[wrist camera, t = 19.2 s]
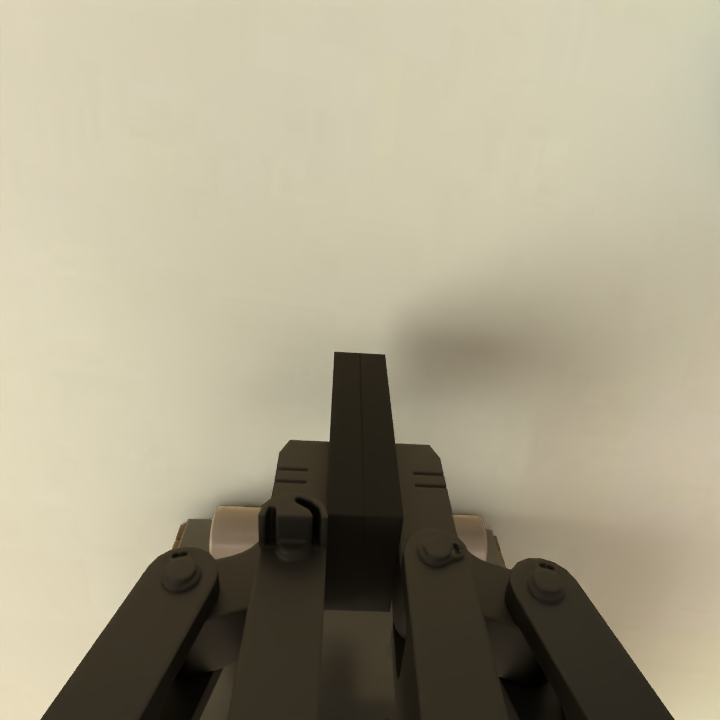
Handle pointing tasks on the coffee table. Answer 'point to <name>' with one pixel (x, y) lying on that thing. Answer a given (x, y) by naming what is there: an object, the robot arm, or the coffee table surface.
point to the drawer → (328, 625)
